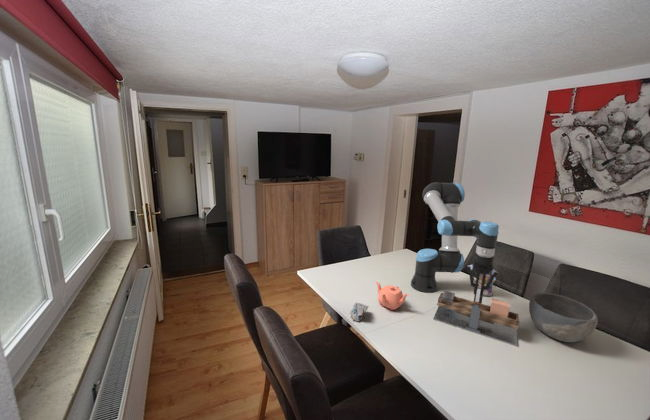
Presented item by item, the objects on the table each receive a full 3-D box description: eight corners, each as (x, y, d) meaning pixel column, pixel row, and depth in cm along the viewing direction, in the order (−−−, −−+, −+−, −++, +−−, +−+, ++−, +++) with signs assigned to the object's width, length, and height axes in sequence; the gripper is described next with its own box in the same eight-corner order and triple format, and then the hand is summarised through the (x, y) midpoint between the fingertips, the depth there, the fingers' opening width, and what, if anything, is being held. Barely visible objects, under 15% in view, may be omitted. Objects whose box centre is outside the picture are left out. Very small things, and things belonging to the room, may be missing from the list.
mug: (495, 294, 168) (498, 277, 166) (489, 299, 162) (492, 282, 160) (474, 286, 177) (477, 270, 175) (468, 291, 171) (470, 274, 169)
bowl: (575, 359, 117) (583, 326, 113) (514, 326, 138) (519, 298, 135) (602, 342, 128) (610, 312, 125) (541, 314, 149) (546, 287, 146)
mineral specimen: (353, 324, 144) (370, 325, 138) (345, 318, 139) (363, 320, 133) (356, 305, 149) (373, 306, 143) (348, 299, 144) (366, 300, 138)
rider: (489, 315, 133) (491, 302, 132) (489, 311, 137) (492, 298, 136) (506, 320, 130) (509, 307, 128) (506, 316, 134) (509, 302, 132)
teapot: (407, 313, 146) (409, 293, 144) (380, 312, 146) (381, 293, 143) (399, 298, 160) (401, 280, 158) (374, 298, 160) (375, 280, 157)
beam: (436, 309, 142) (437, 297, 141) (440, 299, 153) (442, 287, 151) (516, 335, 125) (519, 321, 123) (516, 321, 135) (518, 308, 134)
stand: (433, 319, 141) (436, 296, 138) (440, 303, 156) (442, 282, 153) (517, 346, 123) (522, 320, 120) (516, 325, 138) (520, 301, 135)
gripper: (468, 254, 132) (461, 300, 138) (500, 260, 126) (492, 308, 131) (469, 249, 139) (463, 293, 144) (500, 255, 132) (492, 301, 137)
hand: (477, 300), depth 138 cm, fingers closed
